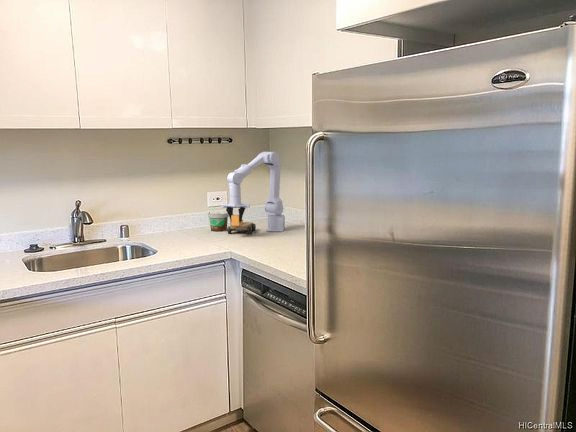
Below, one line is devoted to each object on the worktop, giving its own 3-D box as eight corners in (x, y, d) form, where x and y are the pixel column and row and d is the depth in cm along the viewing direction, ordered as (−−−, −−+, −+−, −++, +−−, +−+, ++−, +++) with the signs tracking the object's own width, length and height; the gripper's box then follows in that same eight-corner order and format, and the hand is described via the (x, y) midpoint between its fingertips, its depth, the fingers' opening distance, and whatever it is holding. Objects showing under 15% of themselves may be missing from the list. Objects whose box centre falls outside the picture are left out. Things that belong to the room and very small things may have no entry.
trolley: (255, 230, 260) (255, 217, 259) (250, 234, 247) (249, 222, 246) (234, 229, 262) (233, 217, 261) (227, 234, 249) (227, 221, 248)
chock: (243, 222, 246) (242, 213, 245) (239, 225, 238) (238, 215, 237) (235, 222, 247) (235, 213, 246) (231, 225, 239) (231, 215, 238)
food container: (204, 231, 258) (203, 213, 256) (209, 229, 264) (208, 212, 262) (224, 232, 254) (224, 214, 253) (229, 230, 260) (228, 212, 258)
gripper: (219, 196, 235) (220, 222, 237) (246, 196, 232) (247, 223, 235) (223, 194, 242) (224, 220, 244) (250, 195, 239) (251, 220, 242)
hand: (236, 221), depth 240 cm, fingers closed on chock, 4 cm apart
